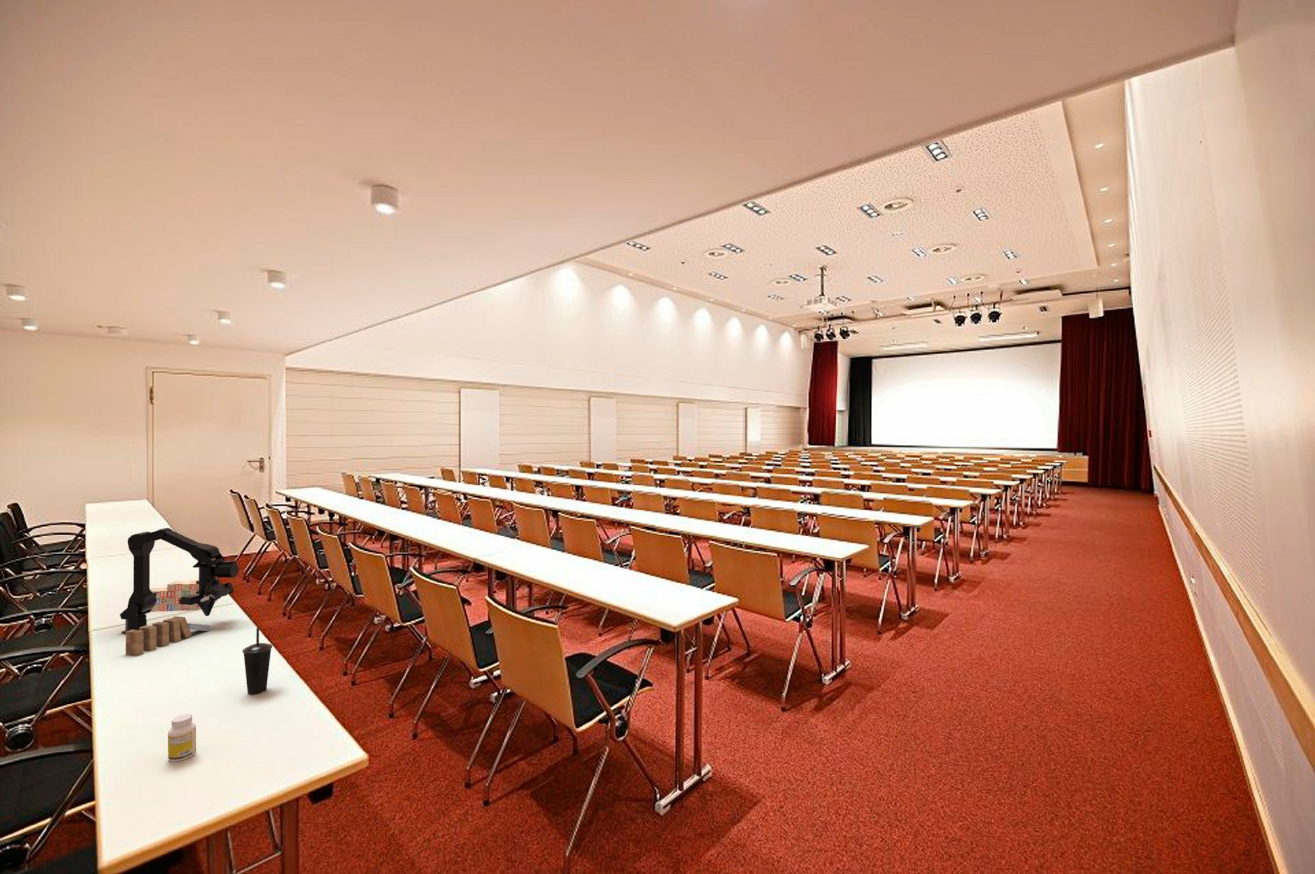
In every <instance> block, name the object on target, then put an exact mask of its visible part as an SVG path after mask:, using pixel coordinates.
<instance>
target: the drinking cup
mask: <svg viewBox="0 0 1315 874" xmlns="http://www.w3.org/2000/svg"><path fill="white" fill-rule="evenodd" d="M255 631H256V634H255V635H256V637H255V638H256V643H254V644H250V645H249V646H247V647H245V648H243V649H242V654H243V658H244V659H243V660H244V668H245V669H244V670H245V682H246V689H247V694H248V695H250V696H256V695H260V694H263V693H265V692H266V691H267V686H268V677H269V671H270V662H271V661H270V660H271V652H272V649H273V645H272V644H271V643H265V642H260V627H256V630H255ZM262 692H263V693H262ZM255 694H256V695H255Z"/></svg>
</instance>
